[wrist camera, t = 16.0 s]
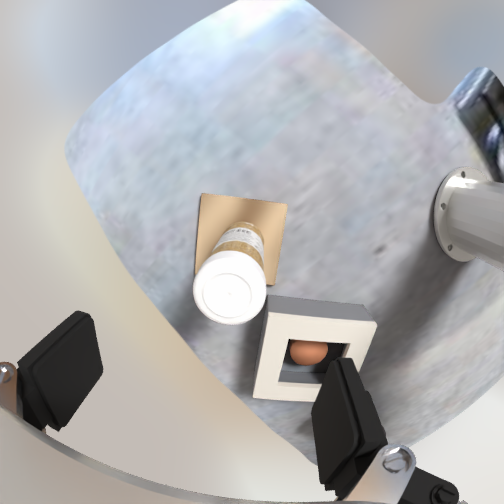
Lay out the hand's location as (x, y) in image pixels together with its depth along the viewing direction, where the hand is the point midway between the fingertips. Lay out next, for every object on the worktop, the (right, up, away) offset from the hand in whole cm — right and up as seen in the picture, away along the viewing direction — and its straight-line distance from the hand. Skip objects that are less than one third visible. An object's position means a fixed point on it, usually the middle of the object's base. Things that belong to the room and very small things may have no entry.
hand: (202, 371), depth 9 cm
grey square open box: (+9, -7, +24) cm, 26 cm away
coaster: (+1, +6, +20) cm, 21 cm away
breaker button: (+9, -7, +23) cm, 26 cm away
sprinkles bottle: (+1, +6, +20) cm, 21 cm away
